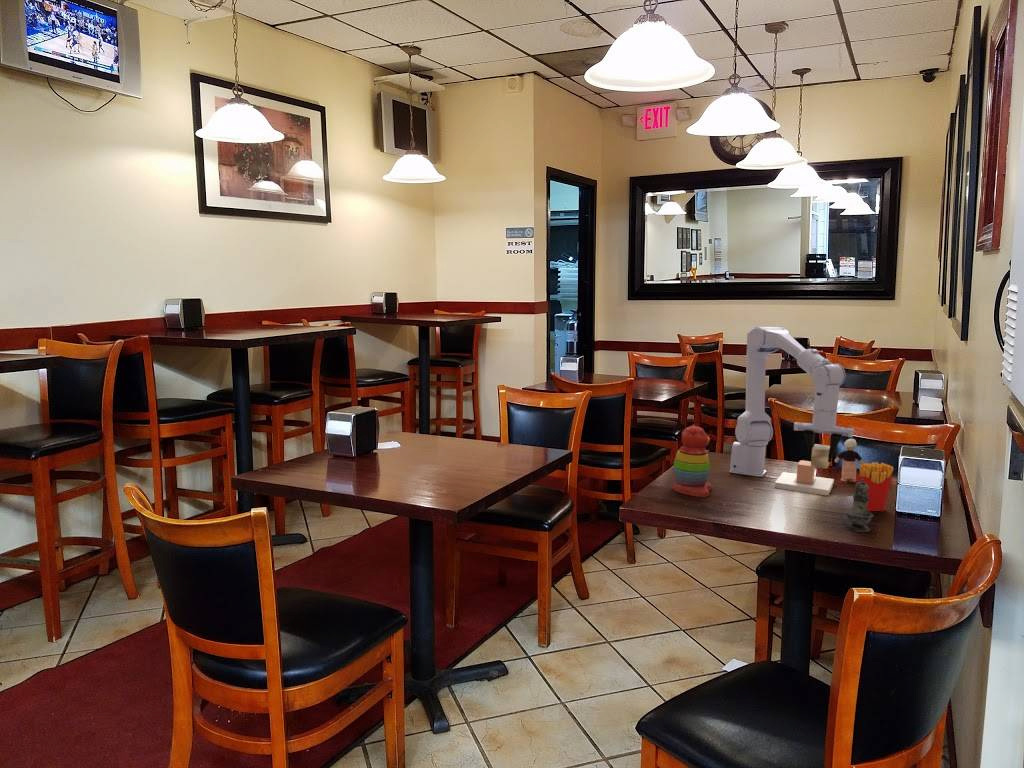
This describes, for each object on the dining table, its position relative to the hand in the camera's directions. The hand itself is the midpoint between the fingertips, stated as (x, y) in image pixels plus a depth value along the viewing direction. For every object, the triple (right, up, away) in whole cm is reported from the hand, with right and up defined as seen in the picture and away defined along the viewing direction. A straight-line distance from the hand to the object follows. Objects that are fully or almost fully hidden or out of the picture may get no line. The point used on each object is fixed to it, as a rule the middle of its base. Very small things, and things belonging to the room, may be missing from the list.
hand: (820, 460), depth 205 cm
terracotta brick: (+1, -7, +13) cm, 15 cm away
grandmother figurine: (+16, -8, +20) cm, 27 cm away
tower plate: (+1, -9, +13) cm, 16 cm away
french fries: (+10, -12, -8) cm, 17 cm away
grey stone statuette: (-1, -14, -23) cm, 27 cm away
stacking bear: (-33, -9, +4) cm, 35 cm away
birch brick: (0, -1, 0) cm, 1 cm away
